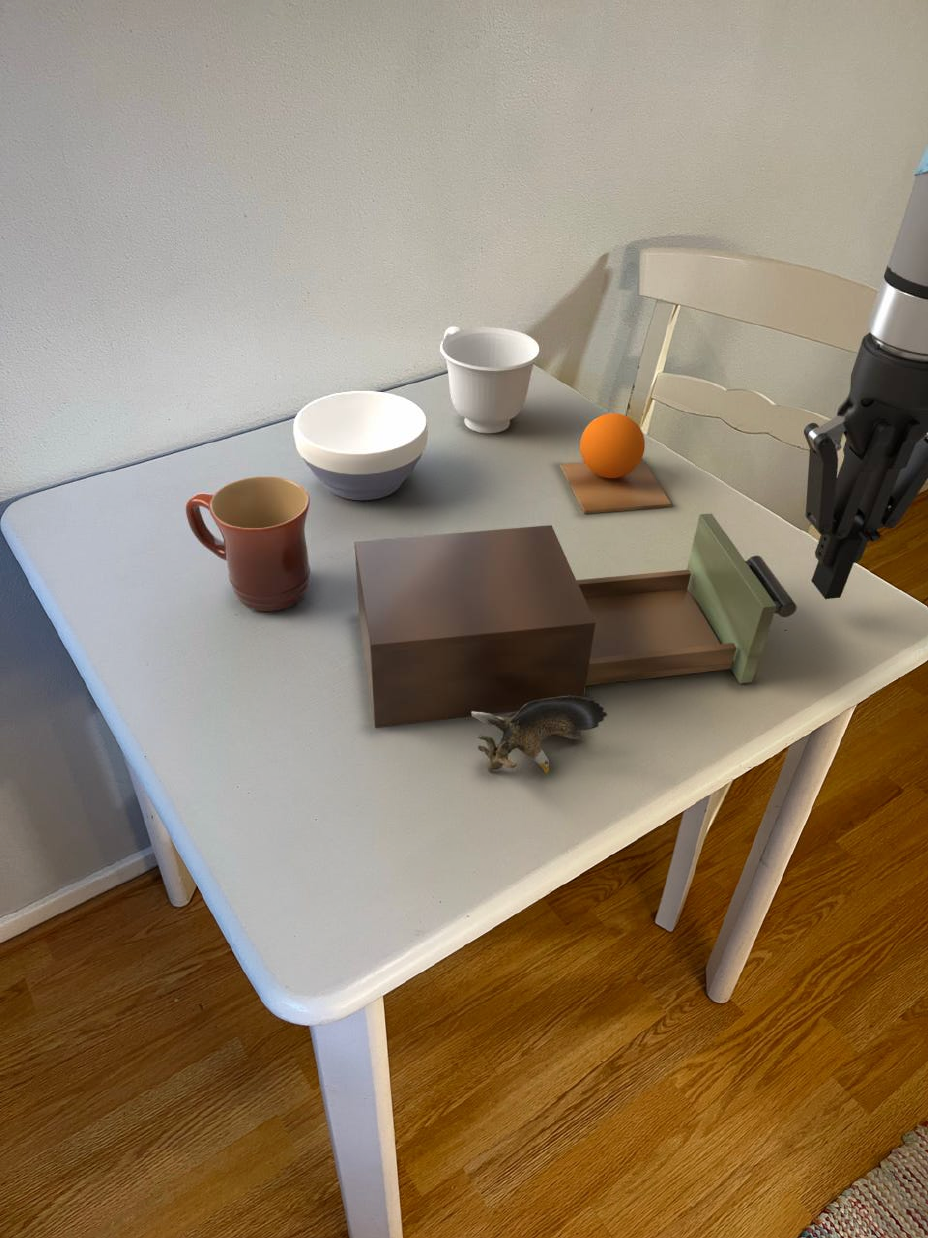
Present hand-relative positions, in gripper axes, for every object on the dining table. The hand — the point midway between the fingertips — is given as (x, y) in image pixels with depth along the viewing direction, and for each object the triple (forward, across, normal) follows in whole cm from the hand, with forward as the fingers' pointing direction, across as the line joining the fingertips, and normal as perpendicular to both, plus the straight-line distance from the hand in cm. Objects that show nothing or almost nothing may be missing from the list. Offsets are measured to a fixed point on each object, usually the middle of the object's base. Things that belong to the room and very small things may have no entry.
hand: (825, 589), depth 82 cm
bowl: (+4, -40, +31) cm, 50 cm away
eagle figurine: (+4, -30, -12) cm, 33 cm away
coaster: (+4, -12, +26) cm, 29 cm away
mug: (+4, -52, +13) cm, 53 cm away
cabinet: (+4, -33, 0) cm, 34 cm away
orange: (+3, -12, +26) cm, 29 cm away
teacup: (+4, -24, +44) cm, 50 cm away
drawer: (+4, -16, 0) cm, 16 cm away
